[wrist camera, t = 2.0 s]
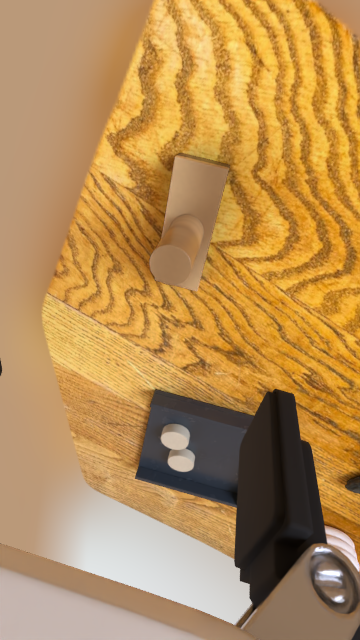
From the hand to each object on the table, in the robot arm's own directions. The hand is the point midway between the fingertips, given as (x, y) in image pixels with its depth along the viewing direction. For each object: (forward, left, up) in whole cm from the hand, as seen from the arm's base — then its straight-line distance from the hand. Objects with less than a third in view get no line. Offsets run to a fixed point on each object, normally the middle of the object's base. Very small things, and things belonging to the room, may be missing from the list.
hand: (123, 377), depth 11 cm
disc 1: (+3, -24, -16) cm, 29 cm away
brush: (0, 0, -17) cm, 17 cm away
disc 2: (+5, -28, -16) cm, 32 cm away
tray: (+7, -26, -17) cm, 31 cm away
